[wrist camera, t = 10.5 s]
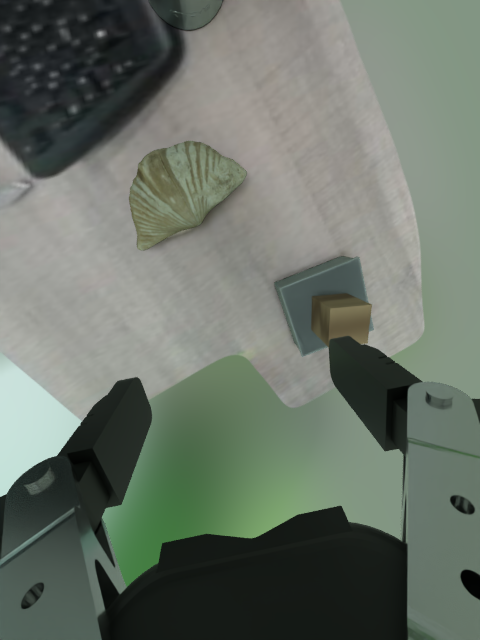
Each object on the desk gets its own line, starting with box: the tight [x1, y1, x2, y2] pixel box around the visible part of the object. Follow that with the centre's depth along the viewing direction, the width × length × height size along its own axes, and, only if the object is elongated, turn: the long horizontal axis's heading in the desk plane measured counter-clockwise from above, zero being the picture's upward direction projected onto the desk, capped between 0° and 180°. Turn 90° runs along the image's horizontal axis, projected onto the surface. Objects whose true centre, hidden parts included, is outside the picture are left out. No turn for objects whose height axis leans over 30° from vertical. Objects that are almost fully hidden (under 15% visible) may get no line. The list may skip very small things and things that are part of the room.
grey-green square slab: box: [274, 256, 374, 357], centre depth 37 cm, size 11×11×5 cm
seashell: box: [129, 141, 247, 251], centre depth 30 cm, size 14×9×10 cm
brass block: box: [311, 293, 372, 347], centre depth 32 cm, size 5×5×6 cm
